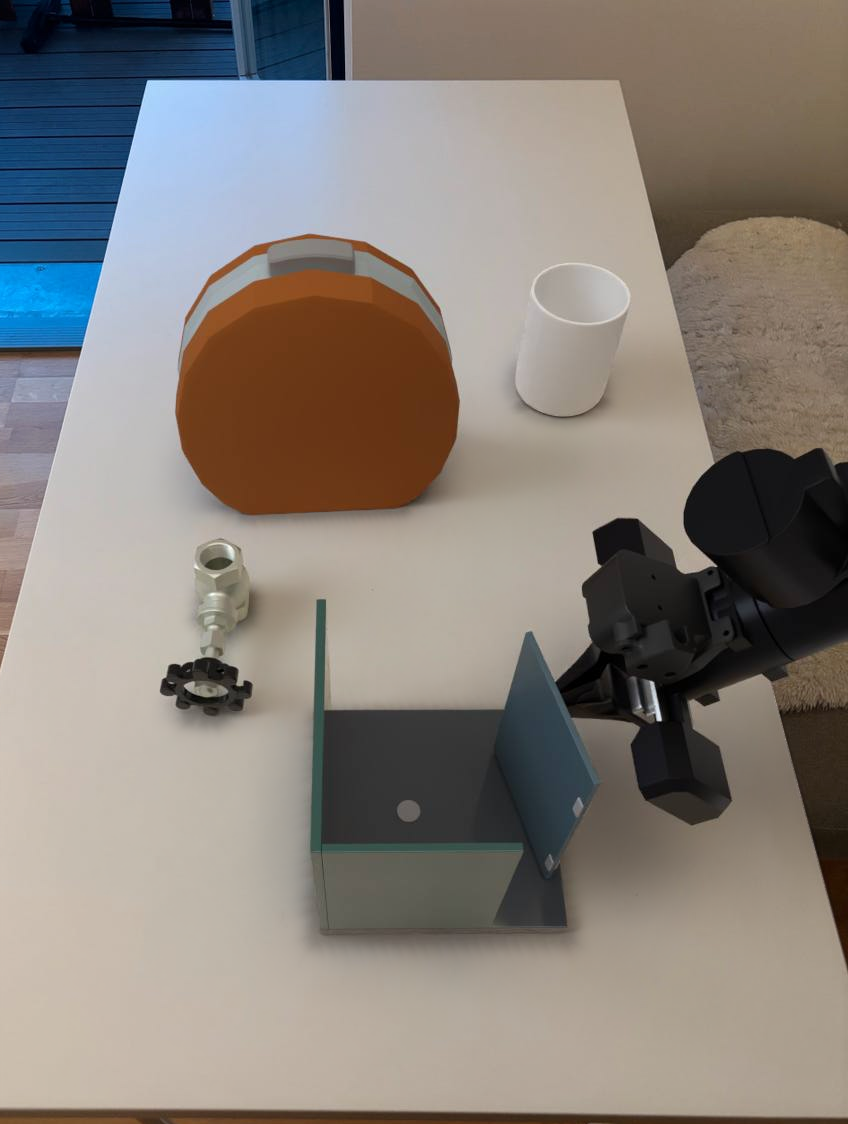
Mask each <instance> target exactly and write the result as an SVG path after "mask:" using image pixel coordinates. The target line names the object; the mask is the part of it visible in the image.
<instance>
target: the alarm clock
mask: <svg viewBox="0 0 848 1124" xmlns="http://www.w3.org/2000/svg"><path fill="white" fill-rule="evenodd" d="M177 359H178V360H177V374H178V381H177V388H176V393H175V409H174V415H175V420H176V425H177V430H178V431H177V432H178V437H179V443H180V447H181V450H182V453H183V455H184V457H185V458H186V460H187V462H188V463H189V466H190V467H191V468H192V470H193V471H194V472H193V473H195V475H196V477H197V479H198V480H199V482H200V484H201V485H202V486H203V487H204V488H205V489H207V490H208V491H209V492H210V493H211V494H212V495H213V496H214V497H216V498H217V500H219V502H221V503H222V504H224V505H226V507H229V508H232V509H233V510H235V511H237V512H239V513H241V514H244V515H249V516H257V515H258V516H259V515H278V514H280V515H282V514H299V513H300V514H301V513H320V512H321V513H323V512H342V511H343V512H344V511H363V510H364V511H365V510H385V509H387V510H388V509H399V508H401V507H404V506H405V505H407V504H409V503H410V502H412V501H413V500H415V499H416V498H418V497H419V496H421V495H422V494H424V492H425V491H426V490H427V489H428V488H429V486H431V484H433V482H434V481H435V480H436V479H437V478H438V477H439V476H440V475H441V473H442V471H443V469H444V467H445V465H446V463H447V461H448V458H449V457H450V455H451V452H452V450H453V448H454V446H455V444H456V441H457V438H458V428H459V427H458V426H459V415H460V405H461V398H460V394H459V387H458V383H457V379H456V375H455V372H454V371H455V370H454V367H453V354H452V350H451V345H450V341H449V338H448V333H447V329H446V326H445V322H444V318H443V314H442V310H441V308H440V306H439V305H438V303H437V301H436V300H435V299H434V297H433V296H432V295H431V293H430V292H429V291H428V289H427V288H426V286H425V285H424V284H423V282H422V281H421V279H420V278H419V277H418V275H417V273H415V271H414V270H413V269H412V268H411V267H410V266H409V265H407V264H405V263H404V262H401V261H399V260H398V259H396V258H395V257H393V256H391V255H389V254H387V253H386V252H384V251H382V250H381V249H379V248H377V247H375V245H372V244H370V243H368V242H367V241H364V240H363V241H362V240H356V239H350V238H343V237H336V236H331V235H322V234H316V233H305V234H301V235H295V236H291V237H288V238H287V237H286V238H282V239H278V240H273V241H269V242H264V243H259V244H255V245H253V246H251V247H250V248H248V249H247V250H246V251H244V252H242V253H241V254H240V255H238V256H236V258H234V259H232V260H231V261H229V262H228V263H226V264H225V265H223V266H222V267H220V268H219V269H218V270H216V271H215V272H213V273H212V274H210V276H208V278H207V280H206V282H205V283H204V285H203V287H202V289H201V290H200V292H199V294H198V295H197V296H196V298H195V300H194V302H193V304H192V305H191V307H190V308H189V311H188V312H187V314H186V315H185V317H184V323H183V330H182V334H181V341H180V347H179V354H178V358H177Z"/></svg>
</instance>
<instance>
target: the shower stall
mask: <svg viewBox="0 0 848 1124" xmlns="http://www.w3.org/2000/svg"><path fill="white" fill-rule="evenodd" d="M327 604H328V603H327V599H326V598H317V599H316V601H315V605H316V606H315V637H314V639H315V640H314V641H315V642H314V675H313V676H314V679H313V680H314V681H313V683H314V684H313V716H312V717H313V722H312V757H311V792H310V794H311V797H310V799H311V800H310V832H309V833H310V834H309V835H310V836H309V841H310V842H309V857H310V862H311V871H312V879H313V881H312V882H313V889H314V896H315V904H316V912H317V921H318V928H319V934H320V935H375V934H376V935H377V934H378V935H380V934H381V935H382V934H385V935H386V934H387V935H388V934H389V935H390V934H391V935H392V934H393V935H395V934H396V935H397V934H398V935H399V934H401V935H402V934H410V935H411V934H529V933H530V934H535V933H538V934H539V933H541V934H543V933H545V934H546V933H547V934H548V933H549V934H551V933H555V934H556V933H565V932H566V931H567V929H568V927H569V925H568V917H567V910H566V902H565V893H564V886H563V878H562V871H561V870H562V869H561V863H559V864H558V866H557V868H556V869H555V870H554V872H553V873H552V875H551V877H550V878H547V879H545V878H544V875H543V873H542V870H541V868H540V865H539V863H538V860H537V858H536V855H535V853H534V850H533V848H532V845H531V842H530V840H529V837H528V835H527V832H526V830H525V827H524V825H523V822H522V820H521V817H520V815H519V812H518V810H517V807H516V805H515V802H514V800H513V797H512V795H511V792H510V790H509V787H508V785H507V782H506V780H505V777H504V774H503V772H502V769H501V767H500V764H499V762H498V759H497V757H496V754H495V752H494V749H493V747H494V744H495V740H496V737H497V733H498V729H499V726H500V722H501V719H502V715H503V712H504V708H503V709H502V708H501V709H496V708H495V709H491V708H490V709H489V708H488V709H483V708H482V709H332V689H331V687H332V686H331V670H330V669H331V668H330V650H329V649H330V648H329V627H328V605H327Z"/></svg>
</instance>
